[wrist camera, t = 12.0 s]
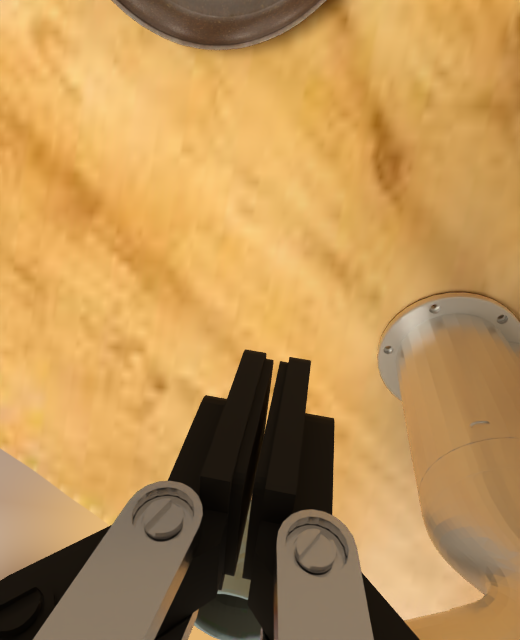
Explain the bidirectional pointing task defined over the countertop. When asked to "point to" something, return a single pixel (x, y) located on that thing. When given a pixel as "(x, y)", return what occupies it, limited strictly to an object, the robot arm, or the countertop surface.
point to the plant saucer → (218, 20)
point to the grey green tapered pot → (231, 606)
